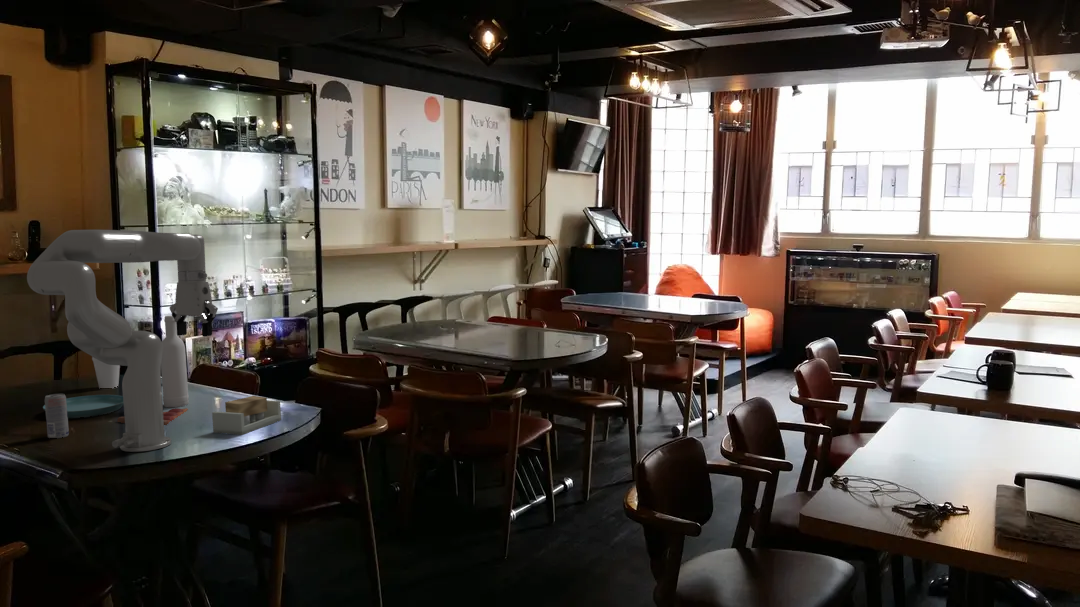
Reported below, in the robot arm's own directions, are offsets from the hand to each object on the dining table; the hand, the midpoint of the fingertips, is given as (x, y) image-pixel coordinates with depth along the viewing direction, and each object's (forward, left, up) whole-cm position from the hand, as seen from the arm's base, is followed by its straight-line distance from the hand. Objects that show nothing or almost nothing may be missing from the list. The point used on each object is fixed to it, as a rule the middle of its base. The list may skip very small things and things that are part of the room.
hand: (194, 335), depth 249 cm
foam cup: (+43, +80, -28) cm, 95 cm away
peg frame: (+5, -13, -27) cm, 31 cm away
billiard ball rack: (+9, +22, -28) cm, 37 cm away
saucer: (+9, +54, -28) cm, 61 cm away
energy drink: (-19, +34, -28) cm, 48 cm away
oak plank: (+5, -13, -23) cm, 27 cm away
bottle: (+24, +31, -28) cm, 48 cm away
